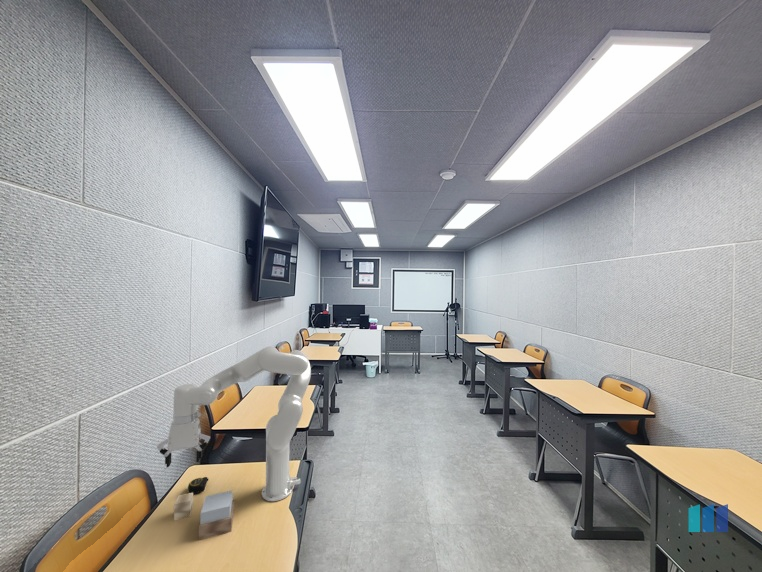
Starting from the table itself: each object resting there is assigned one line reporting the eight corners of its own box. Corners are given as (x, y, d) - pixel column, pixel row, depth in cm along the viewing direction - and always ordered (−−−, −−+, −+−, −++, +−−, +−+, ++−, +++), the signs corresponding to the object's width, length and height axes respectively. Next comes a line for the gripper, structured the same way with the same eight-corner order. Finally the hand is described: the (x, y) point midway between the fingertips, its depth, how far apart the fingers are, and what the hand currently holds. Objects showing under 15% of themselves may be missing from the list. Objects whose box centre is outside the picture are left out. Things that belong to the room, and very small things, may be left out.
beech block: (192, 507, 115) (193, 492, 115) (189, 516, 110) (190, 500, 110) (177, 511, 113) (178, 495, 113) (174, 520, 108) (174, 504, 108)
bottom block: (234, 512, 112) (234, 499, 112) (231, 532, 103) (231, 518, 103) (204, 520, 109) (204, 506, 109) (198, 541, 99) (198, 526, 99)
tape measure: (204, 494, 123) (204, 484, 123) (185, 497, 121) (185, 488, 121) (208, 483, 129) (208, 475, 129) (190, 486, 127) (190, 478, 127)
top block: (232, 500, 112) (232, 490, 112) (229, 517, 103) (229, 506, 103) (205, 507, 108) (205, 496, 109) (200, 524, 100) (200, 513, 100)
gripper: (212, 411, 119) (211, 453, 118) (161, 417, 113) (160, 462, 112) (208, 418, 112) (207, 463, 111) (154, 425, 106) (152, 473, 105)
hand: (183, 462), depth 112 cm, fingers open, 9 cm apart
